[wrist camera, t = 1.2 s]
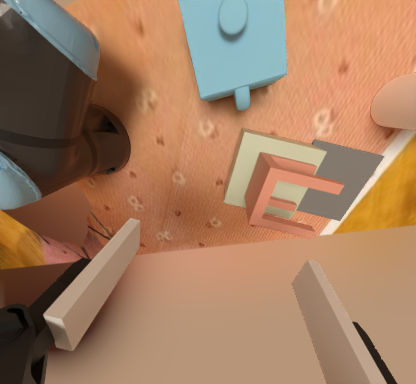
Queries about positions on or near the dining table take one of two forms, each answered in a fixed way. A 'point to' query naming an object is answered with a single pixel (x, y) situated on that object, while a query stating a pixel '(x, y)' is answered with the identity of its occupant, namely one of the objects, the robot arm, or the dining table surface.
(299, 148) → the step block
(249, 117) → the dining table surface
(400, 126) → the cup
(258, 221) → the stool
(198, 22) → the teapot
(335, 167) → the mat
